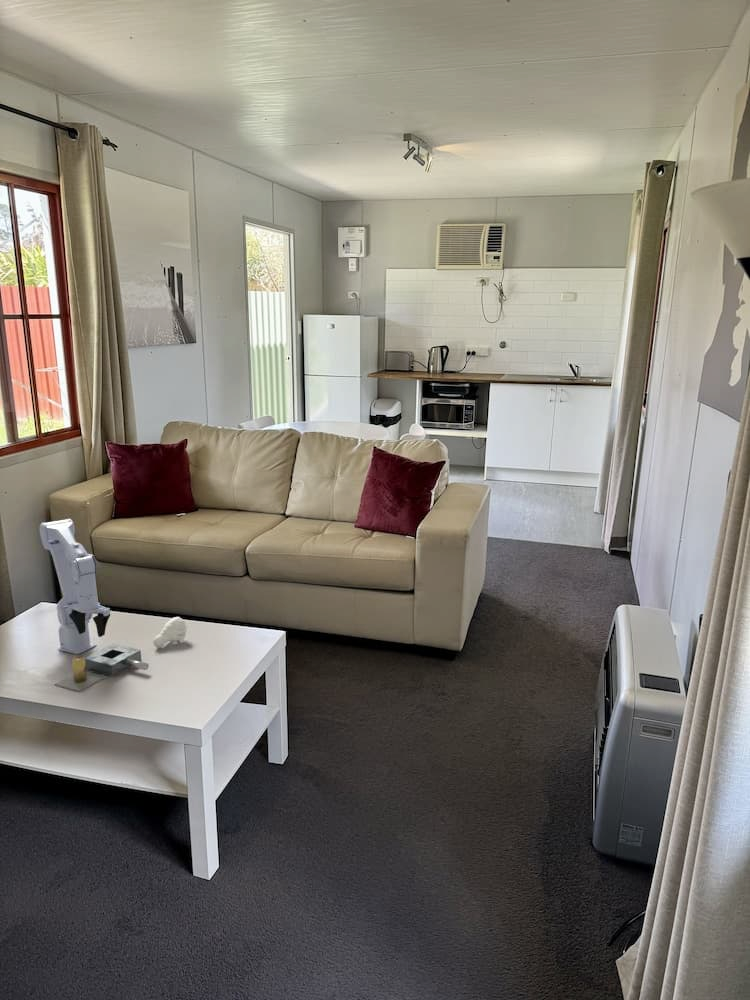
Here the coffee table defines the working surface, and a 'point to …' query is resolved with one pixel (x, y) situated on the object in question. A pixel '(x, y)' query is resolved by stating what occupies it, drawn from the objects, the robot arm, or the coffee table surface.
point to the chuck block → (114, 660)
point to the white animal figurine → (171, 632)
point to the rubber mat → (78, 687)
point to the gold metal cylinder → (79, 669)
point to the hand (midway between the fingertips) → (91, 634)
